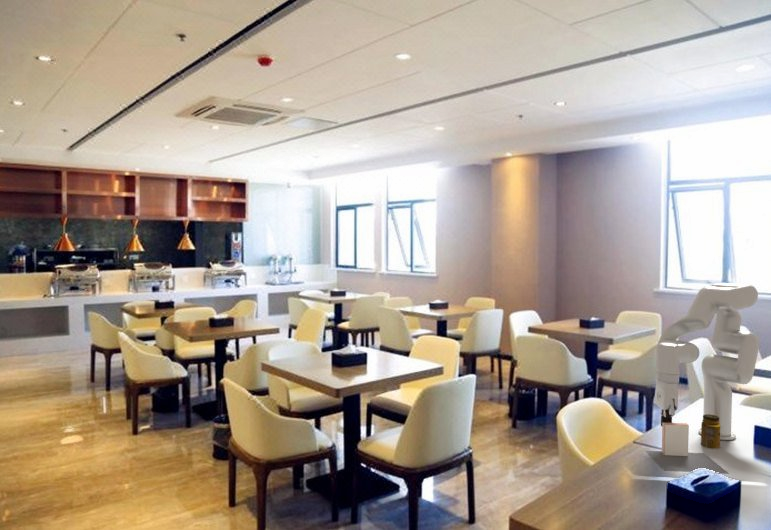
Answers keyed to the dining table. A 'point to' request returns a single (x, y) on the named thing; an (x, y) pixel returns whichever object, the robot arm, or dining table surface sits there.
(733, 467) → the dining table surface
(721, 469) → the mat
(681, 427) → the tile
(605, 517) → the dining table surface
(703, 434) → the condiment
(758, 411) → the dining table surface
